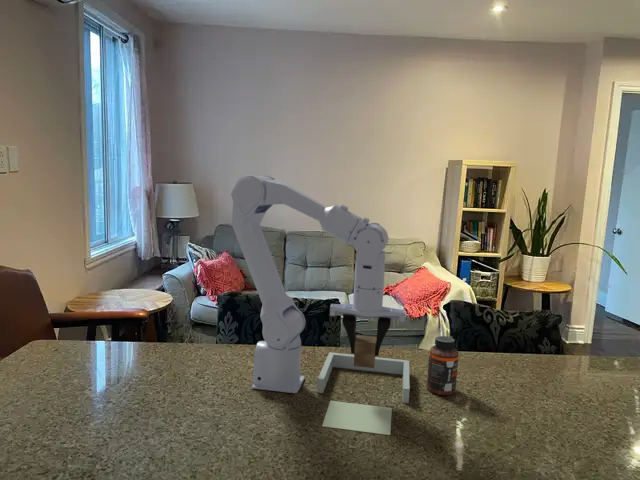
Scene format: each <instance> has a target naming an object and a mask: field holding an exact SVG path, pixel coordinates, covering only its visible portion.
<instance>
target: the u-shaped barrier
mask: <svg viewBox="0 0 640 480" xmlns="http://www.w3.org/2000/svg"><path fill="white" fill-rule="evenodd" d="M333 368H339V369H346V370H347V369H349V370H357V371H365V372H374V373H376V372H377V373H384V374H392V375H393V374H394V375H402V403H403V404H409V401H410V388H411V387H410V360H407V359H397V358H389V357H379V356H375V365H374V368H368V367H358V366H354V354H351V353H350V354H349V353H342V352H341V353H340V352H330V351H329V352H328V354H327V357H326V359H325V361H324V363H323V366H322V368H321V371H320V372H319V374H318V375H319V376H318V377H317V387H316V388H317V389H316V392H317V393H319V394H323V393H324V392H325V388H326V386H327V383H328V382H329V379H330V376H331V374H332V371H333Z"/></svg>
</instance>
